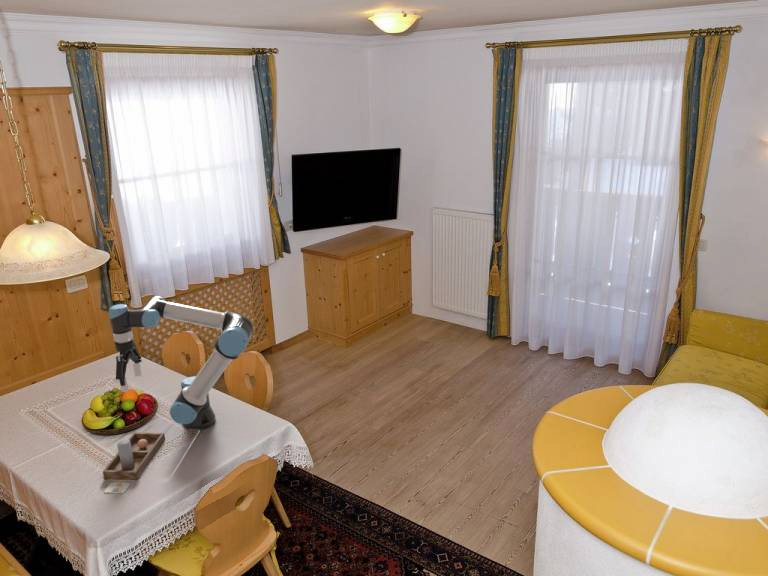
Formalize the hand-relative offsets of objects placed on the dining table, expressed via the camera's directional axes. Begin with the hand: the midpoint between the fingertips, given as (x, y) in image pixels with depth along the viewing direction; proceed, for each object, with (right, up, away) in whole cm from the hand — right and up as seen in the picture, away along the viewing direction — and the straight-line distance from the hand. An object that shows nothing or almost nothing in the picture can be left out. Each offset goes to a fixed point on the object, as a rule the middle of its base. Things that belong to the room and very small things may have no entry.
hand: (131, 383), depth 257 cm
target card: (+4, -38, -23) cm, 45 cm away
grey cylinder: (+4, -33, -12) cm, 36 cm away
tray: (+4, -32, -5) cm, 33 cm away
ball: (+4, -29, +1) cm, 29 cm away
